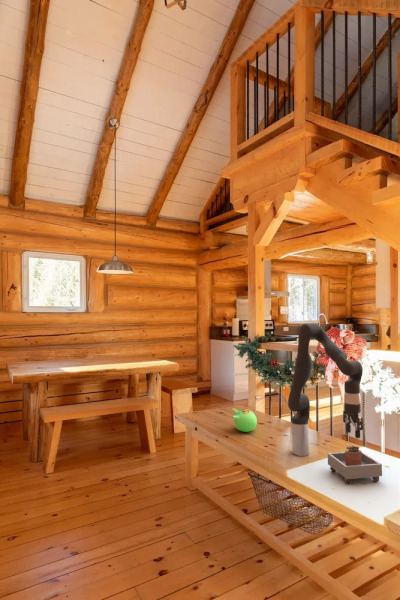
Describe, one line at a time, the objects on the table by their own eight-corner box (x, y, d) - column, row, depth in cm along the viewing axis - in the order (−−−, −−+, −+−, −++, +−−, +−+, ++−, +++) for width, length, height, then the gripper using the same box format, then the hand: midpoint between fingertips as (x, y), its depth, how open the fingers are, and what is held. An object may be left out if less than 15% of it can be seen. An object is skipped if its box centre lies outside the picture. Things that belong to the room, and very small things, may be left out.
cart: (327, 470, 198) (327, 453, 198) (360, 467, 200) (360, 450, 201) (346, 485, 180) (346, 466, 180) (382, 482, 183) (381, 464, 183)
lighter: (359, 464, 192) (359, 444, 193) (363, 467, 189) (362, 446, 189) (344, 465, 192) (343, 445, 192) (347, 468, 188) (346, 447, 189)
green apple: (258, 434, 256) (258, 412, 256) (232, 435, 256) (232, 412, 257) (255, 426, 274) (255, 405, 274) (231, 427, 274) (231, 406, 275)
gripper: (337, 398, 198) (338, 431, 197) (353, 405, 184) (353, 440, 183) (351, 398, 199) (352, 430, 198) (367, 404, 185) (368, 439, 184)
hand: (353, 435), depth 191 cm, fingers open, 8 cm apart
